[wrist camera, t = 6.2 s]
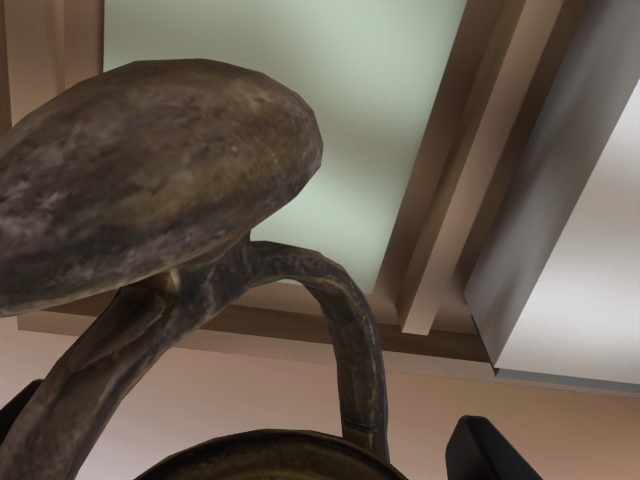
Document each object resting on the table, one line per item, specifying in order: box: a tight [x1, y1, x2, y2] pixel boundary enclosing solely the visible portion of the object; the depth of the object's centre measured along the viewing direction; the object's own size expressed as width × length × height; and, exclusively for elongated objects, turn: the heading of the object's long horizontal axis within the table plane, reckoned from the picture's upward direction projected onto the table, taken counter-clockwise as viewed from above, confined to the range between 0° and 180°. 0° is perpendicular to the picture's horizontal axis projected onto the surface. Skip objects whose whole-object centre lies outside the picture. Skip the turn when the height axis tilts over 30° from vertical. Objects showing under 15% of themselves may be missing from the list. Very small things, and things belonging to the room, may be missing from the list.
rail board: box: [4, 0, 640, 399], centre depth 18 cm, size 20×26×5 cm
